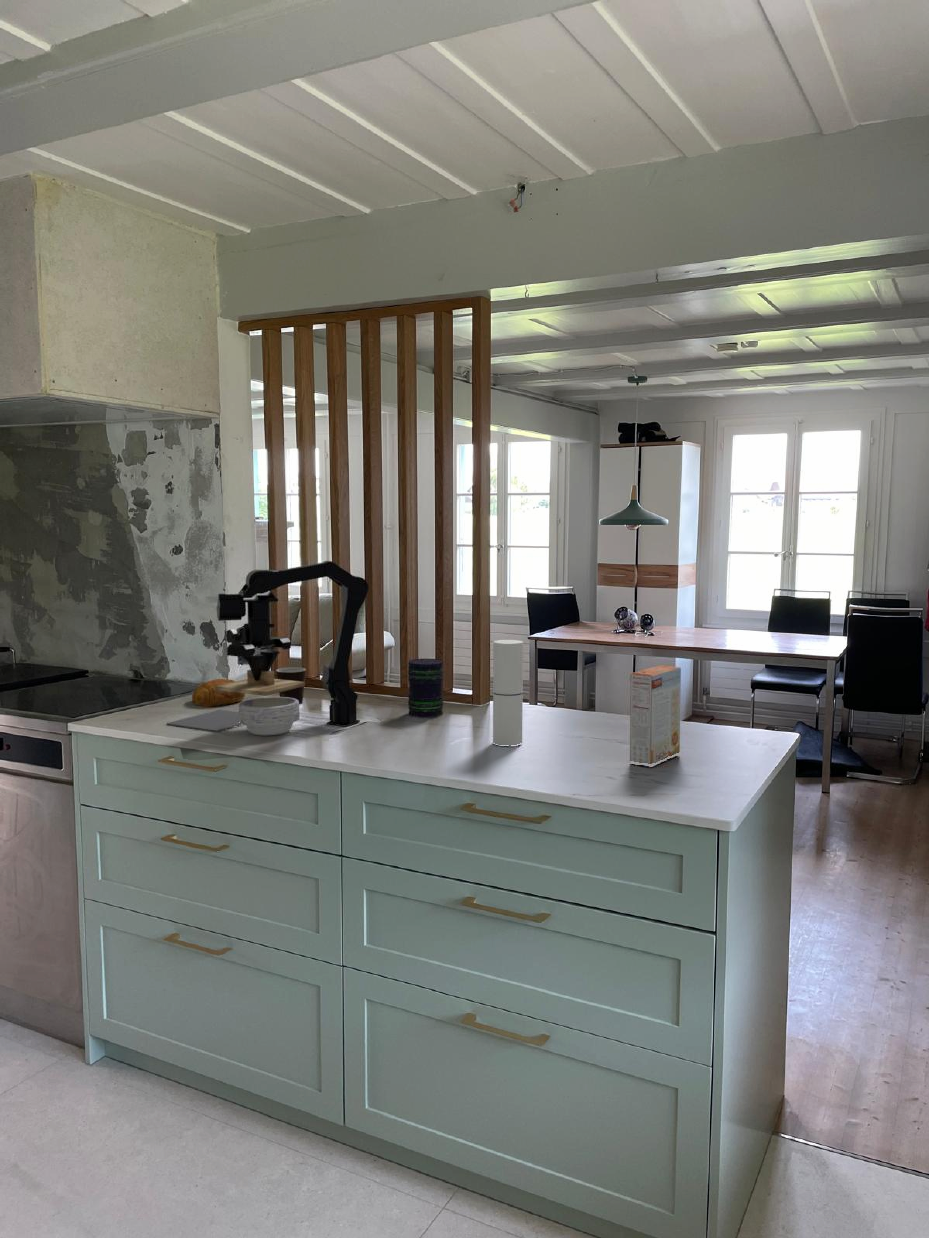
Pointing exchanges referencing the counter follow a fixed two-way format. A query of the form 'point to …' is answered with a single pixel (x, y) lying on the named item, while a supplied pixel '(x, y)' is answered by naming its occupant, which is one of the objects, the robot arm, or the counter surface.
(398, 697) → the counter surface
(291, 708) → the paper bowls
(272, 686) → the oak lid
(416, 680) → the storage jar
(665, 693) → the cracker box
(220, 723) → the mat
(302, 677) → the coffee mug
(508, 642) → the cylindrical container
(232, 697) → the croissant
